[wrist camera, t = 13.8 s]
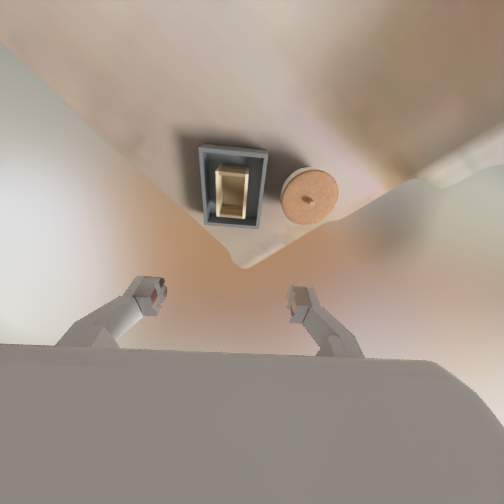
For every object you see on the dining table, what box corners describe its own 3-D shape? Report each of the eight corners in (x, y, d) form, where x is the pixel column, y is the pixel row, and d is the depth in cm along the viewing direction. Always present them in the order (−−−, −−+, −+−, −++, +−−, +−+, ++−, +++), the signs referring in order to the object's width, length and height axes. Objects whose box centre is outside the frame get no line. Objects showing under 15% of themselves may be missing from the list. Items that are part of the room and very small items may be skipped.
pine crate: (220, 163, 37) (215, 170, 32) (249, 166, 37) (248, 174, 33) (220, 205, 42) (216, 216, 38) (245, 207, 43) (245, 219, 38)
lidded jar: (267, 184, 40) (271, 200, 33) (310, 149, 36) (325, 158, 29) (293, 217, 45) (301, 238, 38) (333, 190, 41) (351, 207, 34)
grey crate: (204, 143, 35) (198, 147, 31) (266, 149, 36) (268, 154, 32) (208, 214, 45) (204, 224, 41) (258, 219, 45) (258, 229, 41)
